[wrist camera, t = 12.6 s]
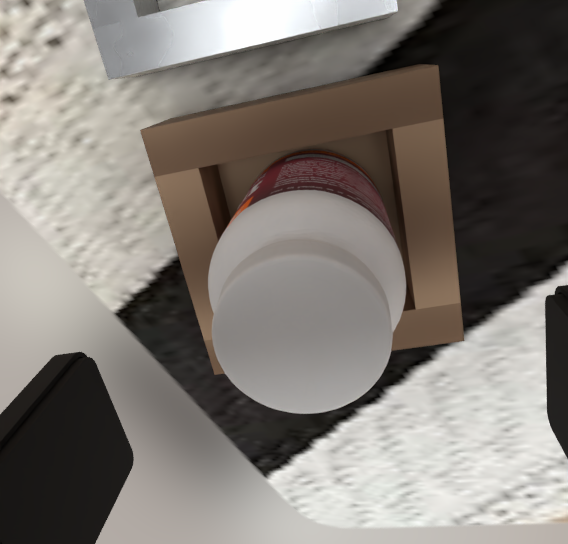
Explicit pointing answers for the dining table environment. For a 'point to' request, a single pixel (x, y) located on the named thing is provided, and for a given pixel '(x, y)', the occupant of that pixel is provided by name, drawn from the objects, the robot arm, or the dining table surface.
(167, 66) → the socket block
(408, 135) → the tray
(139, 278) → the dining table surface
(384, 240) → the pill bottle
